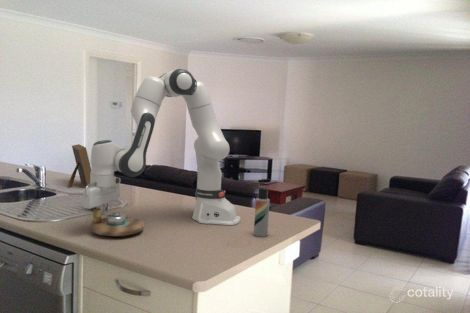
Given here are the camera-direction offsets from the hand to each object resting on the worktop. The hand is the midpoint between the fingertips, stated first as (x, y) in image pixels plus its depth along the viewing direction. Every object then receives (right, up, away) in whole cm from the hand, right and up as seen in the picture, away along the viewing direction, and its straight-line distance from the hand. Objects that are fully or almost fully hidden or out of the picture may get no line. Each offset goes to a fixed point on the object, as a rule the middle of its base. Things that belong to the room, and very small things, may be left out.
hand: (101, 214), depth 157 cm
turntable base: (+7, -6, -2) cm, 10 cm away
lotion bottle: (+64, -9, +4) cm, 65 cm away
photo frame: (-43, +5, +87) cm, 97 cm away
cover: (+7, -3, -3) cm, 8 cm away
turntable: (+7, -5, -2) cm, 9 cm away
